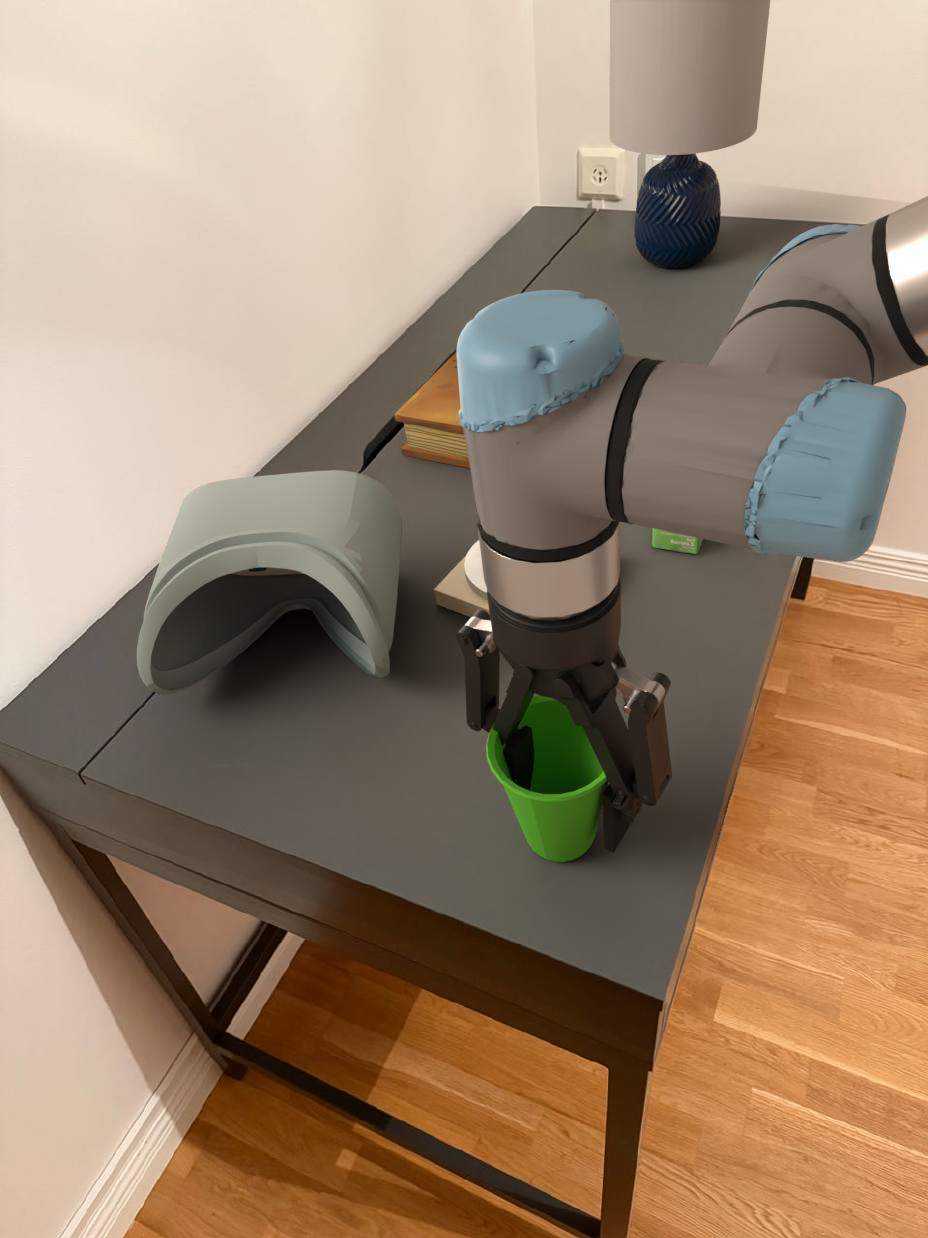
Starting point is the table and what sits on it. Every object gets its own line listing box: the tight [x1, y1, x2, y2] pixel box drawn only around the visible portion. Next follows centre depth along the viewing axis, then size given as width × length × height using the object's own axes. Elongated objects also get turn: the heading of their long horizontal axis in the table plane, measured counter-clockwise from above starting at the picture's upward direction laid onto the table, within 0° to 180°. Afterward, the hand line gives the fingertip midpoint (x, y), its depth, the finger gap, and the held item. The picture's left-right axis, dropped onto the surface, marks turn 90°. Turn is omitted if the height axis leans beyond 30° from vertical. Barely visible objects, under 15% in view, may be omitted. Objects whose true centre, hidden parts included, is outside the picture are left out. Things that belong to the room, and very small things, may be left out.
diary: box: [394, 351, 470, 469], centre depth 107 cm, size 23×19×6 cm
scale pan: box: [464, 539, 488, 600], centre depth 87 cm, size 11×11×1 cm
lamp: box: [609, 0, 771, 269], centre depth 127 cm, size 20×20×37 cm
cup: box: [485, 694, 609, 863], centre depth 64 cm, size 9×9×11 cm
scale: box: [433, 555, 490, 618], centre depth 88 cm, size 13×13×2 cm
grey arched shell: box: [136, 469, 403, 695], centre depth 82 cm, size 22×19×13 cm
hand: (569, 814), depth 65 cm, fingers closed on cup, 7 cm apart
